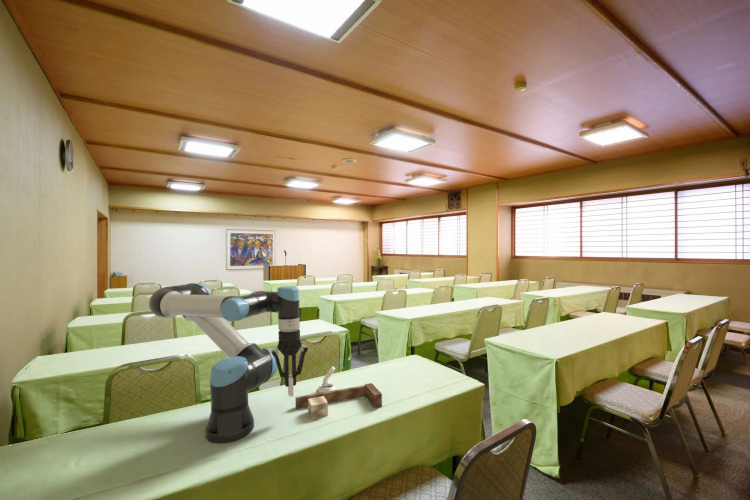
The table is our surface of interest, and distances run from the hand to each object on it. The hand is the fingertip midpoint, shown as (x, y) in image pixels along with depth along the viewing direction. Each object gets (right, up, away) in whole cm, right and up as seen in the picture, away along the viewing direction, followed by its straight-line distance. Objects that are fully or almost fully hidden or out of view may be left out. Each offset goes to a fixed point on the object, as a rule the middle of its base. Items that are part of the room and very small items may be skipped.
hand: (290, 394), depth 123 cm
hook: (+9, -9, +25) cm, 28 cm away
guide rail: (+17, -8, +9) cm, 21 cm away
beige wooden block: (+9, -9, +4) cm, 13 cm away
